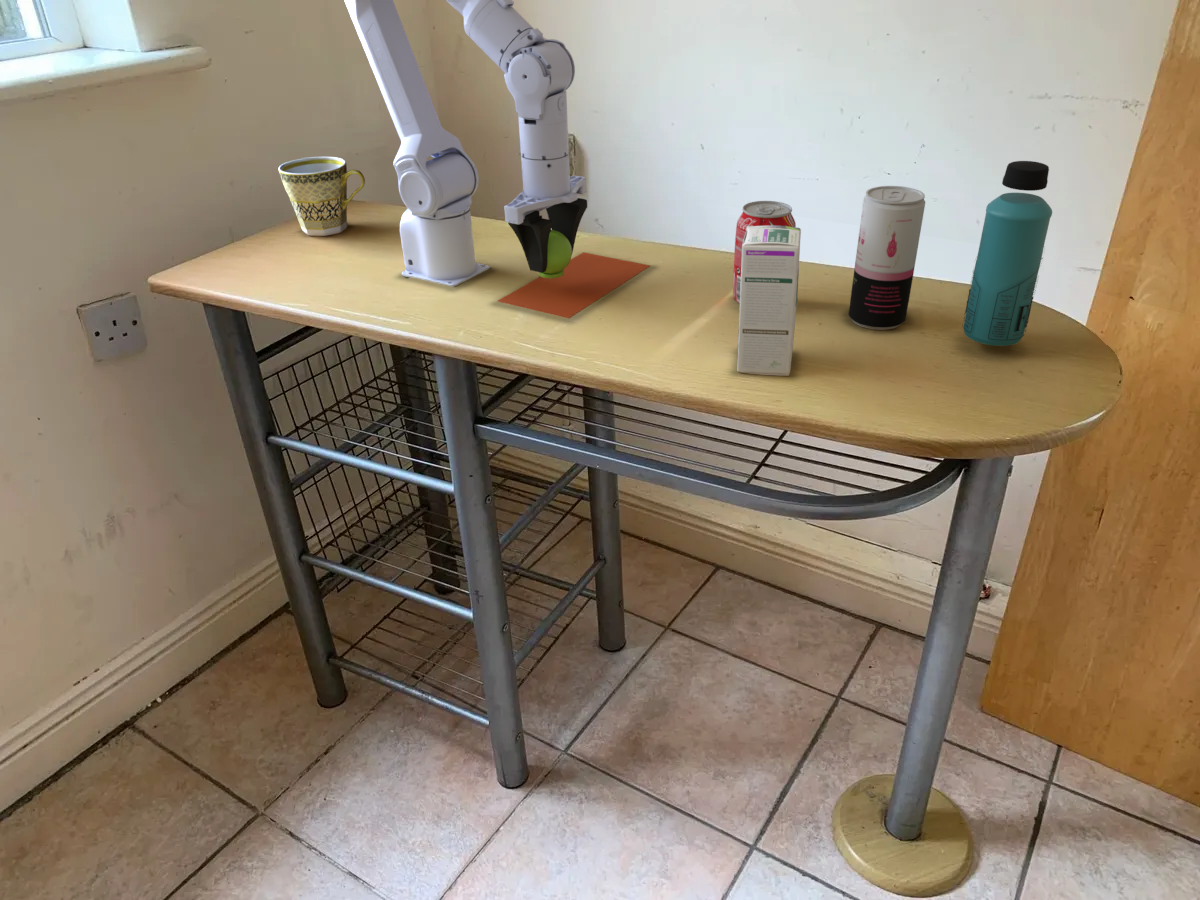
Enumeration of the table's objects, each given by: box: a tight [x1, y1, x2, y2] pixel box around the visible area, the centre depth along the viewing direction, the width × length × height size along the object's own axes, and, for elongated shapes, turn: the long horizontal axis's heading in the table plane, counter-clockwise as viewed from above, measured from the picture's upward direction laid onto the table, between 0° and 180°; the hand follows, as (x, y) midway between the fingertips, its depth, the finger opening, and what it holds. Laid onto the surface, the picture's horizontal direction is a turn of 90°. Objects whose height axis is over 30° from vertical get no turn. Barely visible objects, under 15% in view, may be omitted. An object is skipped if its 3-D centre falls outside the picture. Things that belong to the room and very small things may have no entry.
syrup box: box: [736, 225, 802, 377], centre depth 94 cm, size 6×6×14 cm
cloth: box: [497, 251, 651, 319], centre depth 118 cm, size 11×20×1 cm, turn 148°
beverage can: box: [848, 185, 926, 331], centre depth 102 cm, size 6×7×15 cm
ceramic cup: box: [277, 156, 366, 237], centre depth 138 cm, size 13×10×10 cm
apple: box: [538, 229, 573, 278], centre depth 112 cm, size 5×5×7 cm
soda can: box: [732, 200, 797, 305], centre depth 108 cm, size 7×7×12 cm
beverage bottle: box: [962, 160, 1053, 347], centre depth 94 cm, size 6×7×20 cm
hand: (550, 263), depth 113 cm, fingers closed on apple, 5 cm apart
